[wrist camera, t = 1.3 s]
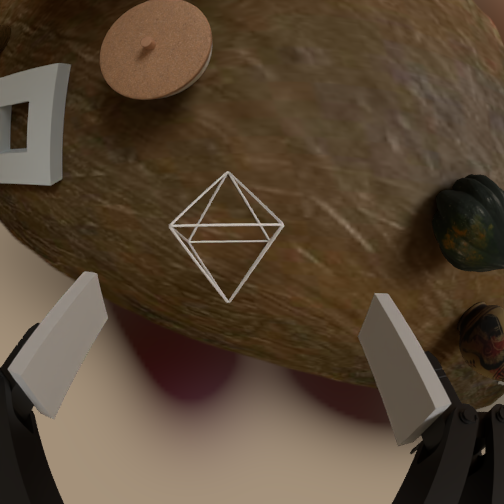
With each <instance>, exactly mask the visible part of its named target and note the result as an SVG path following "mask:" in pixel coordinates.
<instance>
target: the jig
mask: <svg viewBox="0 0 504 504" xmlns="http://www.w3.org/2000/svg"><path fill="white" fill-rule="evenodd" d="M70 68H71V65H70V64H63V63H56V64H51V65H46V66H42V67H37V68H33V69H29V70H26V71H22V72H18V73H15V74H12V75H8V76H5V77H2V78H0V183H9V184H32V185H50V186H51V185H53V184H54V183H56V182H58V181H60V180H62V142H63V123H64V111H65V102H66V93H67V86H68V80H69V73H70ZM25 102H29V111H28V127H27V148H23V149H10V127H11V110H12V105H14V104H19V103H25Z"/></svg>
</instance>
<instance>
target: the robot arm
mask: <svg viewBox="0 0 504 504" xmlns="http://www.w3.org/2000/svg"><path fill="white" fill-rule="evenodd" d="M107 319H108V316H107V313H106V309H105V305H104V301H103V298H102V294H101V289H100V285H99V281H98V276H97V273H92V272H83V274H82V275H81V276H80V277H79V278H78V279H77V280H76V281H75V282H74V284H73V285H72V286H71V287H70V288H69V290H67V292H66V293H65V294H64V295H63V296H62V298H61V299H60V300H59V301H58V302H57V303H56V305H55V306H54V307H53V308H52V309H51V311H50V312H49V313H48V314H47V316H46V317H45V318H44V319H43V321H42V322H41V323H37V324H35V325H34V326H32V327H31V328H30V329H28V331H27V332H26V334H25V335H24V336H23V339H21V340H20V341H19V343H18V345H16V347H15V348H14V349H13V351H12V353H11V354H10V355H9V357H8V358H7V360H6V361H5V362H4V364H3V365H2V367H1V368H0V504H64V503H63V500H62V498H61V496H60V494H59V491H58V489H57V487H56V484H55V481H54V479H53V476H52V474H51V471H50V468H49V465H48V462H47V460H46V456H45V453H44V450H43V446H42V443H41V439H40V436H39V432H38V428H37V424H36V420H35V415H34V413H33V411H32V408H33V406H35V407H36V408H37V410H38V411H39V412H40V413H41V414H43V415H45V416H48V417H50V418H52V419H54V418H55V416H56V414H57V412H58V410H59V408H60V405H61V403H62V401H63V399H64V397H65V395H66V393H67V391H68V389H69V387H70V385H71V383H72V381H73V379H74V377H75V375H76V374H77V372H78V370H79V368H80V366H81V364H82V362H83V361H84V359H85V357H86V355H87V353H88V351H89V350H90V348H91V346H92V344H93V342H94V341H95V339H96V337H97V336H98V334H99V332H100V331H101V329H102V327H103V325H104V324H105V322H106V320H107ZM358 337H359V340H360V342H361V345H362V347H363V350H364V352H365V355H366V357H367V360H368V362H369V365H370V368H371V370H372V373H373V375H374V378H375V381H376V383H377V386H378V389H379V392H380V394H381V397H382V400H383V403H384V405H385V408H386V411H387V414H388V417H389V420H390V423H391V426H392V429H393V432H394V435H395V439H396V442H397V445H398V446H401V445H404V444H408V443H411V442H414V441H415V440H416V439H417V438H418V437H419V436H420V435H421V436H422V438H423V441H421V442H420V443H419V444H418V445H417V446H416V447H415V448H413V449H412V451H411V452H410V453H411V454H412V453H414V452H415V451H416V450H417V452H416V454H415V457H414V460H413V462H412V464H411V466H410V468H409V471H408V473H407V475H406V477H405V479H404V481H403V483H402V485H401V487H400V489H399V491H398V493H397V495H396V497H395V499H394V501H393V502H392V504H504V405H502V404H496V405H495V406H494V407H493V408H492V409H491V410H490V411H489V412H477V411H476V410H475V409H474V408H473V407H472V406H470V405H469V404H462V403H461V402H460V400H459V398H458V396H457V394H456V392H455V390H454V388H453V387H452V385H451V383H450V381H449V379H448V377H446V374H445V372H444V370H442V367H441V365H440V363H439V361H438V360H437V358H436V357H435V356H433V355H432V354H431V353H430V352H429V351H427V352H424V351H423V349H422V347H421V346H420V344H419V342H418V341H417V339H416V337H415V336H414V334H413V332H412V331H411V329H410V327H409V326H408V324H407V322H406V321H405V319H404V318H403V316H402V314H401V313H400V311H399V310H398V308H397V307H396V305H395V304H394V302H393V300H392V299H391V297H390V296H389V294H383V293H375V294H374V297H373V299H372V302H371V305H370V308H369V310H368V313H367V315H366V318H365V321H364V323H363V326H362V328H361V331H360V333H359V335H358ZM484 448H485V449H486V450H485V454H484V455H482V453H481V450H482V449H484Z"/></svg>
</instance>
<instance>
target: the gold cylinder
mask: <svg viewBox="0 0 504 504" xmlns="http://www.w3.org/2000/svg"><path fill="white" fill-rule="evenodd" d="M10 34H11V28H10V26H7V25H0V52H1V51H2V50H3V49H4V47H5V46H6V44H7V42H8V40H9V38H10Z"/></svg>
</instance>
